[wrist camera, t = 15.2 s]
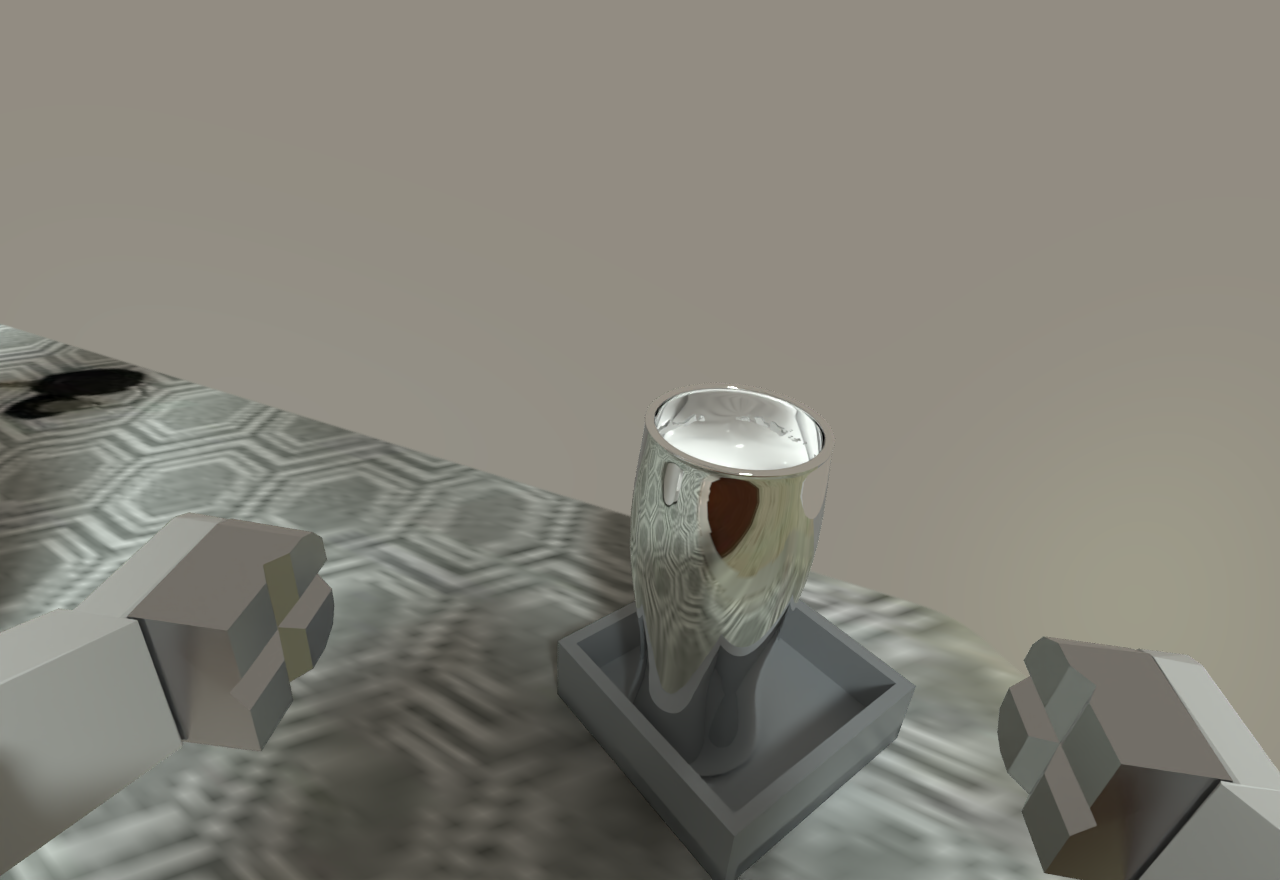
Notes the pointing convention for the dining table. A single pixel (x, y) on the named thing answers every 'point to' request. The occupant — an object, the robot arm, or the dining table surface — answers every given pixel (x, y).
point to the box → (787, 749)
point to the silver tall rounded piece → (720, 558)
